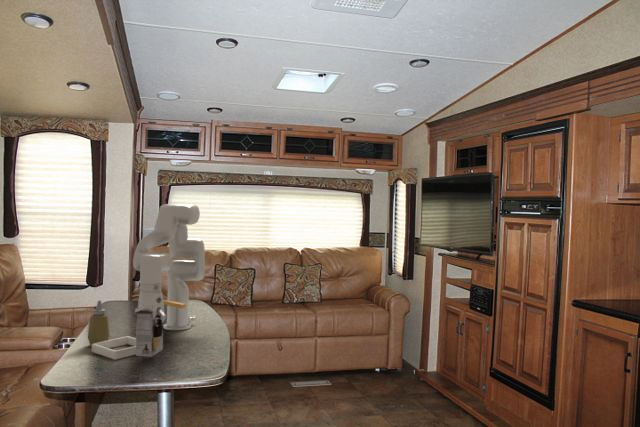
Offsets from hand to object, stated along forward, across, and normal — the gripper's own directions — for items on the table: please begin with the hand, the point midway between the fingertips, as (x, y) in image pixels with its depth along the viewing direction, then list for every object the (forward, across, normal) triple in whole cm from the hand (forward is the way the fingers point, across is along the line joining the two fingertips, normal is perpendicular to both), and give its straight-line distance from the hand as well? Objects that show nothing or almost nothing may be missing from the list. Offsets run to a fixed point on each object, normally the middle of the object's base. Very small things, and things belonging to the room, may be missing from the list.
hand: (149, 334), depth 181 cm
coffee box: (+7, 0, 0) cm, 7 cm away
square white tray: (+9, +17, -4) cm, 20 cm away
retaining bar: (-8, +8, -14) cm, 18 cm away
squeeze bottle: (+10, +31, +1) cm, 32 cm away
